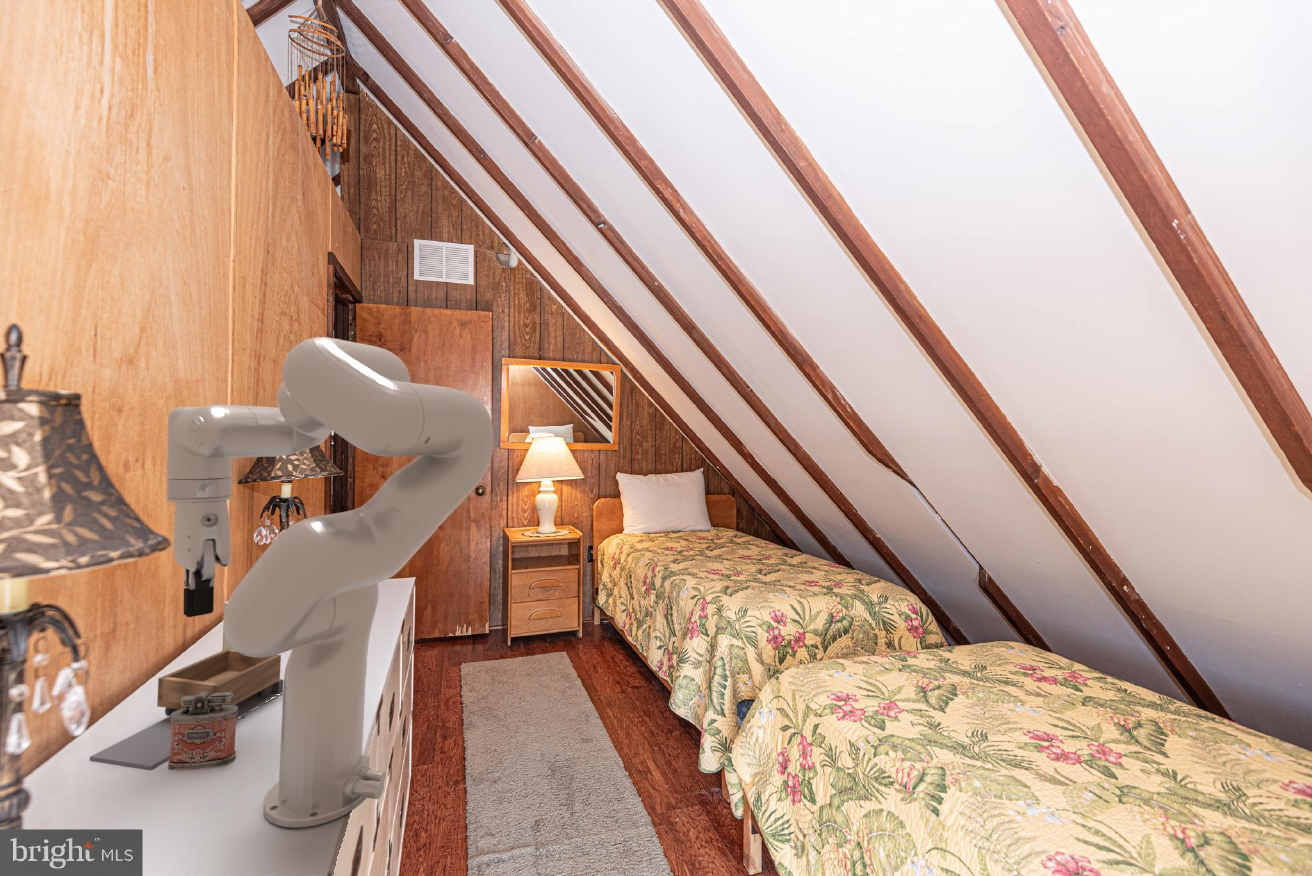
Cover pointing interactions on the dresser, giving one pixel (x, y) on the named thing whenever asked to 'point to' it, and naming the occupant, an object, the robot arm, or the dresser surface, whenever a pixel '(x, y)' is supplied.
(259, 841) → the dresser surface
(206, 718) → the lighter
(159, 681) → the cart
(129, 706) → the dresser surface
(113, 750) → the track
